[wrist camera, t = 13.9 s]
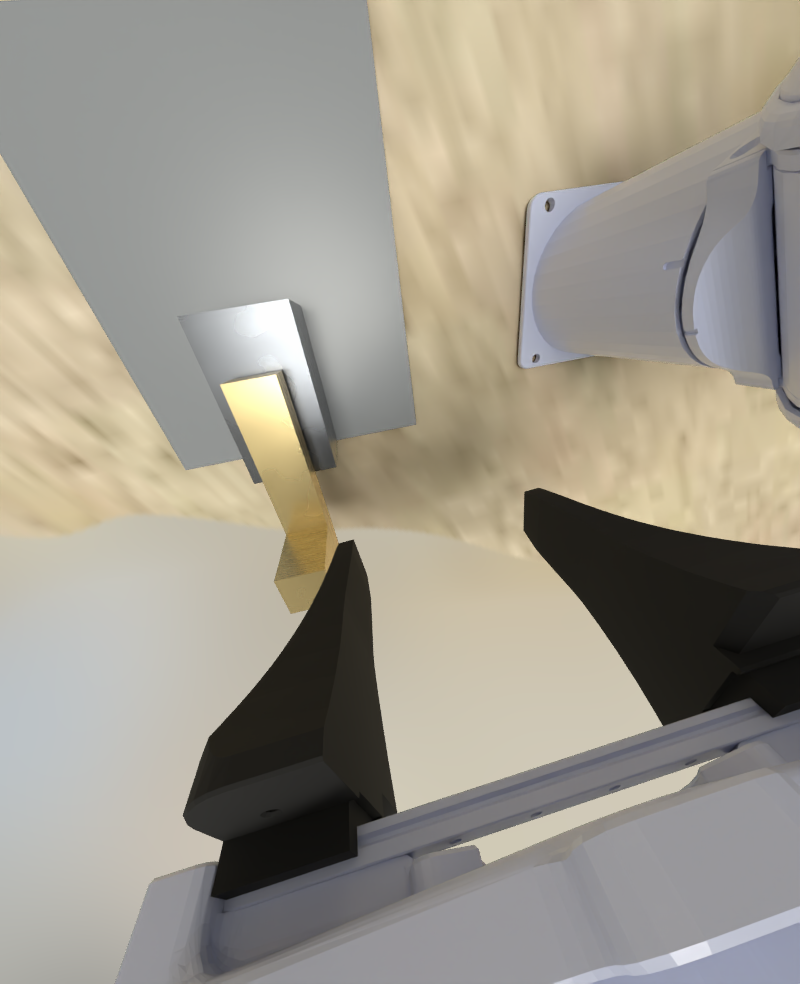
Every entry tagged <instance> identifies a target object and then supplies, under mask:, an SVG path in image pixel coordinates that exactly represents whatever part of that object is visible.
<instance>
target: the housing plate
mask: <svg viewBox="0 0 800 984" xmlns="http://www.w3.org/2000/svg"><path fill="white" fill-rule="evenodd" d="M0 154H1V156H2V157H3V159H4V161H5V163H6V164H7V166H8V168H9V169H10V171H11V173H12V175H13V176H14V178H15V180H16V181H17V183H18V185H19V186H20V188H21V190H22V192H23V193H24V195H25V197H26V198H27V200H28V202H29V204H30V205H31V207H32V209H33V210H34V212H35V214H36V215H37V217H38V219H39V221H40V222H41V224H42V226H43V227H44V229H45V231H46V232H47V234H48V236H49V238H50V239H51V241H52V243H53V244H54V246H55V248H56V250H57V251H58V253H59V255H60V256H61V258H62V260H63V261H64V263H65V265H66V267H67V268H68V270H69V272H70V273H71V275H72V277H73V279H74V280H75V282H76V284H77V285H78V287H79V289H80V290H81V292H82V294H83V296H84V297H85V299H86V301H87V302H88V304H89V306H90V308H91V309H92V311H93V313H94V314H95V316H96V318H97V319H98V321H99V323H100V325H101V326H102V328H103V330H104V331H105V333H106V335H107V337H108V338H109V340H110V342H111V343H112V345H113V347H114V348H115V350H116V352H117V354H118V355H119V357H120V359H121V360H122V362H123V364H124V365H125V367H126V369H127V371H128V372H129V374H130V376H131V377H132V379H133V381H134V383H135V384H136V386H137V388H138V389H139V391H140V393H141V394H142V396H143V398H144V400H145V401H146V403H147V405H148V406H149V408H150V410H151V412H152V413H153V415H154V417H155V418H156V420H157V422H158V423H159V425H160V427H161V429H162V430H163V432H164V434H165V435H166V437H167V439H168V441H169V442H170V444H171V446H172V447H173V449H174V451H175V452H176V454H177V456H178V458H179V459H180V461H181V463H182V464H183V466H184V468H185V470H189V469H194V468H199V467H204V466H209V465H214V464H219V463H224V462H229V461H234V460H240V459H243V460H244V462H245V464H246V467H247V469H248V471H249V473H250V475H251V477H252V480H253V482H254V484H256V483H261V482H263V481H262V479H261V476H260V474H259V472H258V470H257V467H256V465H255V463H254V461H253V458H252V456H251V454H250V452H249V449H248V447H247V445H246V443H245V440H244V438H243V436H242V434H241V431H240V429H239V427H238V425H237V422H236V420H235V418H234V416H233V413H232V411H231V409H230V406H229V404H228V402H227V400H226V397H225V395H224V393H223V391H222V388H221V386H220V384H222V383H224V382H227V381H229V380H231V379H237V378H242V377H248V376H254V375H260V374H265V373H271V372H277V371H282V373H283V376H284V379H285V382H286V385H287V388H288V391H289V394H290V397H291V400H292V403H293V406H294V409H295V412H296V415H297V418H298V421H299V425H300V428H301V431H302V434H303V437H304V440H305V443H306V446H307V449H308V452H309V455H310V458H311V461H312V464H313V467H314V470H315V471H319V470H324V469H329V468H334V467H336V462H337V440H341V439H346V438H351V437H356V436H361V435H366V434H371V433H376V432H381V431H386V430H391V429H396V428H401V427H406V426H411V425H416V418H415V409H414V401H413V392H412V384H411V375H410V367H409V358H408V349H407V341H406V332H405V324H404V315H403V307H402V298H401V290H400V281H399V273H398V264H397V255H396V247H395V238H394V230H393V221H392V213H391V204H390V196H389V187H388V178H387V170H386V161H385V153H384V144H383V136H382V127H381V119H380V110H379V101H378V93H377V84H376V76H375V67H374V59H373V50H372V42H371V33H370V24H369V16H368V7H367V0H11V1H0Z"/></svg>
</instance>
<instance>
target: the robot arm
mask: <svg viewBox="0 0 800 984" xmlns="http://www.w3.org/2000/svg"><path fill="white" fill-rule="evenodd" d="M546 201H548V202H549V203H550V209H549V211H548V212H547V211H546V210H545V203H546ZM534 355H536V360H535V361H534V362H532V357H533V356H534ZM591 356H605V357H615V358H624V359H633V360H643V361H652V362H662V363H671V364H680V365H690V366H699V367H708V368H719V369H723V370H727V371H729V372H730V373H731V374H732V375H733V377H734V380H735V383H736V384H738V385H745V386H752V387H760V388H767V389H774V390H776V400H777V404H778V407H779V409H780V411H781V412H782V413H783V415H784V416H785V417H786V419H787V420H788V421H790V422H791V423H792V424H794V425H795V426H796V427H798V428H800V57H799V58H798V60H797V61H796V63H795V64H794V66H793V67H792V69H791V70H790V72H789V73H788V74H787V76H786V77H785V78H784V79H783V80H782V81H781V82H780V84H779V85H778V86H777V87H776V88H775V90H774V91H773V93H772V94H771V96H770V97H769V99H768V100H767V102H766V103H765V105H764V106H763V108H762V110H761V111H759V112H757V113H756V114H754V115H752V116H750V117H748V118H746V119H744V120H742V121H740V122H738V123H736V124H734V125H732V126H730V127H729V128H727V129H725V130H723V131H721V132H719V133H717V134H715V135H713V136H711V137H709V138H707V139H705V140H703V141H702V142H700V143H698V144H696V145H694V146H692V147H690V148H688V149H686V150H684V151H682V152H680V153H678V154H676V155H675V156H673V157H671V158H669V159H667V160H665V161H663V162H661V163H659V164H657V165H655V166H653V167H651V168H649V169H648V170H646V171H644V172H642V173H640V174H638V175H636V176H634V177H632V178H630V179H628V180H626V181H622V182H615V183H607V184H600V185H593V186H586V187H578V188H571V189H564V190H556V191H549V192H542V193H539V194H537V195H535V196H534V197H533V198H532V199H531V200H530V202H529V204H528V207H527V217H526V234H525V250H524V266H523V283H522V299H521V315H520V332H519V348H518V365H519V366H520V367H521V368H525V369H528V368H533V367H538V366H544V365H549V364H554V363H560V362H565V361H570V360H576V359H581V358H586V357H591ZM524 532H525V533H526V535H527V536H528V538H529V539H530V541H531V542H532V544H533V545H534V547H535V548H536V550H537V551H538V552H539V553H540V554H541V556H542V557H543V558H544V559H545V560H546V561H547V562H548V564H549V565H550V566H551V567H552V568H553V569H554V570H555V571H556V573H557V574H558V575H559V576H560V577H561V578H562V579H563V580H564V581H565V583H566V584H567V585H568V586H569V587H570V588H571V589H572V590H573V592H574V593H575V594H576V595H577V596H578V598H579V599H580V600H581V601H582V602H583V604H584V605H585V607H586V608H587V609H588V611H589V612H590V613H591V615H592V616H593V617H594V619H595V620H596V622H597V623H598V624H599V626H600V627H601V629H602V630H603V631H604V633H605V634H606V636H607V637H608V639H609V640H610V642H611V643H612V645H613V646H614V648H615V649H616V650H617V652H618V654H619V655H620V657H621V658H622V659H623V661H624V663H625V664H626V666H627V667H628V669H629V670H630V672H631V674H632V675H633V677H634V678H635V680H636V681H637V683H638V685H639V686H640V688H641V690H642V691H643V693H644V695H645V696H646V698H647V700H648V701H649V703H650V705H651V706H652V708H653V709H654V711H655V713H656V715H657V716H658V718H659V720H660V721H661V723H662V725H663V726H662V727H659V728H656V729H653V730H650V731H647V732H644V733H641V734H638V735H635V736H632V737H628V738H625V739H622V740H619V741H617V742H613V743H610V744H607V745H604V746H601V747H598V748H595V749H592V750H589V751H586V752H583V753H580V754H577V755H574V756H571V757H567V758H564V759H561V760H558V761H555V762H552V763H549V764H546V765H543V766H540V767H537V768H534V769H531V770H528V771H525V772H522V773H519V774H516V775H513V776H510V777H506V778H504V779H501V780H497V781H495V782H491V783H488V784H485V785H482V786H479V787H476V788H473V789H470V790H467V791H464V792H461V793H458V794H455V795H451V796H448V797H446V798H442V799H439V800H436V801H433V802H430V803H427V804H424V805H421V806H418V807H415V808H412V809H409V810H406V811H403V812H400V813H397V809H396V803H395V797H394V791H393V785H392V780H391V774H390V768H389V762H388V756H387V750H386V743H385V736H384V730H383V724H382V717H381V710H380V704H379V697H378V690H377V682H376V675H375V668H374V656H373V636H372V613H371V597H370V590H369V584H368V577H367V574H366V571H365V568H364V566H363V563H362V560H361V558H360V555H359V552H358V550H357V547H356V545H355V542H354V540H350V541H346V542H343V543H340V544H338V546H337V548H336V550H335V553H334V556H333V558H332V561H331V563H330V566H329V568H328V571H327V573H326V575H325V577H324V580H323V582H322V584H321V586H320V588H319V590H318V592H317V594H316V596H315V598H314V600H313V602H312V604H311V606H310V608H309V610H308V611H307V613H306V615H305V617H304V619H303V620H302V622H301V624H300V625H299V627H298V628H297V630H296V632H295V633H294V635H293V636H292V638H291V639H290V641H289V642H288V643H287V645H286V646H285V648H284V649H283V651H282V652H281V654H280V655H279V657H278V658H277V659H276V661H275V662H274V663H273V665H272V666H271V667H270V668H269V670H268V671H267V672H266V673H265V675H264V676H263V677H262V678H261V680H260V681H259V682H258V683H257V685H256V686H255V687H254V688H253V689H252V691H251V692H250V693H249V694H248V695H247V696H246V698H245V699H244V700H243V701H242V702H241V703H240V704H239V705H238V706H237V708H236V709H235V710H234V711H233V712H232V713H231V714H230V715H229V716H228V718H226V720H225V721H224V722H223V723H222V724H221V725H220V726H219V727H218V728H217V729H216V730H215V732H213V734H212V735H211V736H210V737H209V739H208V741H207V744H206V746H205V749H204V752H203V754H202V757H201V760H200V763H199V766H198V770H197V772H196V776H195V779H194V782H193V785H192V788H191V791H190V794H189V798H188V801H187V804H186V807H185V810H184V813H183V817H184V819H185V821H186V823H187V825H188V826H190V827H192V828H193V829H195V830H197V831H200V832H202V833H204V834H207V835H209V836H211V837H214V838H216V839H219V840H221V841H223V846H222V850H221V854H220V859H219V862H206V863H202V864H198V865H195V866H192V867H189V868H186V869H183V870H179V871H176V872H173V873H170V874H168V875H164V876H161V877H158V878H155V879H154V880H153V881H152V882H151V883H150V884H149V886H148V889H147V892H146V894H145V897H144V901H143V903H142V906H141V909H140V912H139V915H138V918H137V921H136V924H135V926H134V929H133V932H132V935H131V938H130V941H129V944H128V947H127V950H126V952H125V955H124V958H123V961H122V964H121V967H120V970H119V973H118V975H117V979H116V981H115V984H800V549H799V548H789V547H779V546H769V545H760V544H752V543H745V542H738V541H731V540H724V539H718V538H712V537H706V536H700V535H695V534H690V533H685V532H680V531H675V530H670V529H666V528H662V527H658V526H654V525H650V524H646V523H642V522H638V521H634V520H631V519H627V518H624V517H621V516H618V515H615V514H611V513H608V512H605V511H602V510H599V509H596V508H594V507H591V506H588V505H585V504H582V503H580V502H577V501H574V500H572V499H569V498H566V497H564V496H561V495H558V494H555V493H553V492H550V491H547V490H544V489H541V488H536V489H533V490H529V491H526V492H525V494H524ZM718 757H719V758H718ZM715 758H717V759H716V760H713V761H711V762H709V763H707V764H705V765H703V766H701V767H700V768H699V770H698V773H697V776H696V777H695V778H694V779H693V780H692V781H691V782H690V783H689V784H688V785H686V786H685V787H684V788H683V789H681V790H680V791H678V792H675V793H672V794H669V795H665V796H662V797H659V798H656V799H653V800H650V801H647V802H644V803H641V804H638V805H635V806H632V807H630V808H627V809H624V810H621V811H618V812H616V813H613V814H610V815H608V816H605V817H602V818H600V819H597V820H594V821H591V822H589V823H586V824H584V825H581V826H579V827H576V828H574V829H571V830H569V831H566V832H564V833H561V834H559V835H556V836H554V837H552V838H549V839H547V840H544V841H542V842H539V843H537V844H535V845H532V846H530V847H528V848H525V849H523V850H520V851H518V852H515V853H513V854H510V855H508V856H506V857H503V858H501V859H498V860H496V861H494V862H491V863H489V864H487V865H486V864H485V863H484V862H483V861H482V860H481V856H480V852H479V849H478V848H477V847H476V846H475V845H471V846H465V847H460V848H454V849H448V850H445V849H447V848H450V847H453V846H456V845H460V844H463V843H465V842H468V841H471V840H474V839H477V838H480V837H483V836H486V835H489V834H492V833H495V832H498V831H501V830H504V829H507V828H510V827H513V826H516V825H519V824H522V823H525V822H528V821H531V820H534V819H537V818H540V817H543V816H546V815H548V814H551V813H555V812H557V811H561V810H563V809H566V808H569V807H572V806H575V805H578V804H581V803H584V802H587V801H590V800H593V799H596V798H599V797H602V796H605V795H608V794H611V793H614V792H617V791H620V790H623V789H626V788H629V787H632V786H635V785H638V784H641V783H644V782H647V781H650V780H653V779H655V778H658V777H661V776H664V775H667V774H670V773H673V772H676V771H679V770H682V769H685V768H688V767H691V766H694V765H697V764H700V763H703V762H706V761H709V760H712V759H715ZM442 850H443V851H442Z"/></svg>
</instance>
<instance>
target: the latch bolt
mask: <svg viewBox="0 0 800 984" xmlns="http://www.w3.org/2000/svg"><path fill="white" fill-rule="evenodd" d="M220 386H221V388H222V391H223V393H224V395H225V397H226V400H227V402H228V404H229V406H230V409H231V411H232V413H233V416H234V418H235V420H236V422H237V425H238V427H239V429H240V431H241V434H242V436H243V438H244V440H245V443H246V445H247V447H248V449H249V452H250V454H251V456H252V458H253V461H254V463H255V465H256V467H257V470H258V472H259V474H260V476H261V479H262V481H263V483H264V485H265V488H266V490H267V492H268V494H269V497H270V499H271V501H272V503H273V506H274V508H275V510H276V512H277V515H278V517H279V519H280V522H281V524H282V526H283V528H284V531H285V533H286V539H285V542H284V546H283V550H282V554H281V557H280V562H279V565H278V569H277V573H276V576H275V580H274V582H275V584H276V586H277V588H278V590H279V592H280V594H281V596H282V598H283V599H284V601H285V603H286V605H287V607H288V609H289V611H290V613H291V614H292V613H296V612H300V611H305V610H309V608H310V606H311V604H312V602H313V600H314V598H315V596H316V594H317V592H318V590H319V588H320V586H321V584H322V582H323V580H324V577H325V575H326V573H327V571H328V568H329V566H330V563H331V561H332V558H333V556H334V553H335V550H336V548H337V546H338V544H339V543H338V540H337V537H336V534H335V531H334V528H333V524H332V521H331V518H330V515H329V512H328V509H327V506H326V503H325V500H324V497H323V494H322V491H321V488H320V485H319V482H318V479H317V476H316V473H315V470H314V467H313V464H312V461H311V458H310V455H309V452H308V449H307V446H306V443H305V440H304V437H303V434H302V431H301V428H300V425H299V421H298V418H297V415H296V412H295V409H294V406H293V403H292V400H291V397H290V394H289V391H288V388H287V385H286V382H285V379H284V376H283V373H282V371H277V372H271V373H265V374H260V375H254V376H248V377H242V378H237V379H231V380H229V381H227V382H224V383H222V384H220Z"/></svg>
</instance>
